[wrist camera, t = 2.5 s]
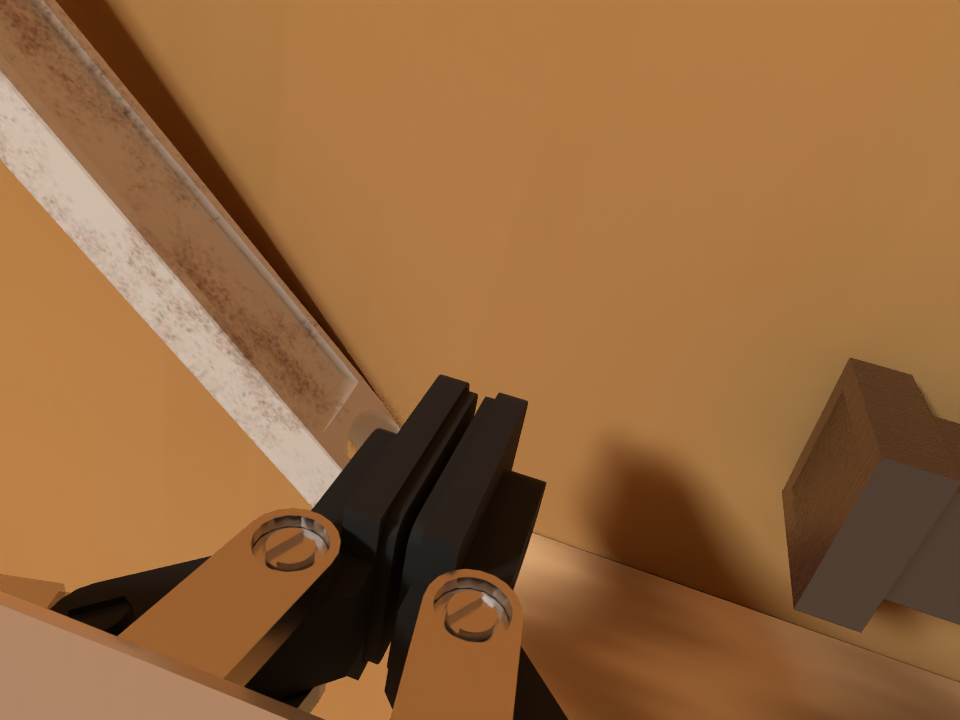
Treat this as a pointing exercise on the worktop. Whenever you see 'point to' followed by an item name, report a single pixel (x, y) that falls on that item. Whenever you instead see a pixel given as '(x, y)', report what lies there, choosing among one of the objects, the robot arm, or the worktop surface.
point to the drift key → (875, 504)
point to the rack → (697, 653)
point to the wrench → (174, 249)
